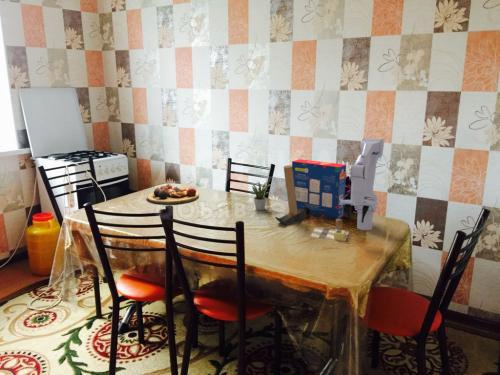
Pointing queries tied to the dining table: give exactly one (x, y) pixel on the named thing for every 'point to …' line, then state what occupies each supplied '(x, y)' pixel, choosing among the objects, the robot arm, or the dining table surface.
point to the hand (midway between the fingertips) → (356, 221)
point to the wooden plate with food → (172, 195)
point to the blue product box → (320, 187)
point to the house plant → (260, 196)
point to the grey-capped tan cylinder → (338, 224)
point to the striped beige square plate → (326, 233)
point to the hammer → (292, 200)
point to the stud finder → (339, 234)
